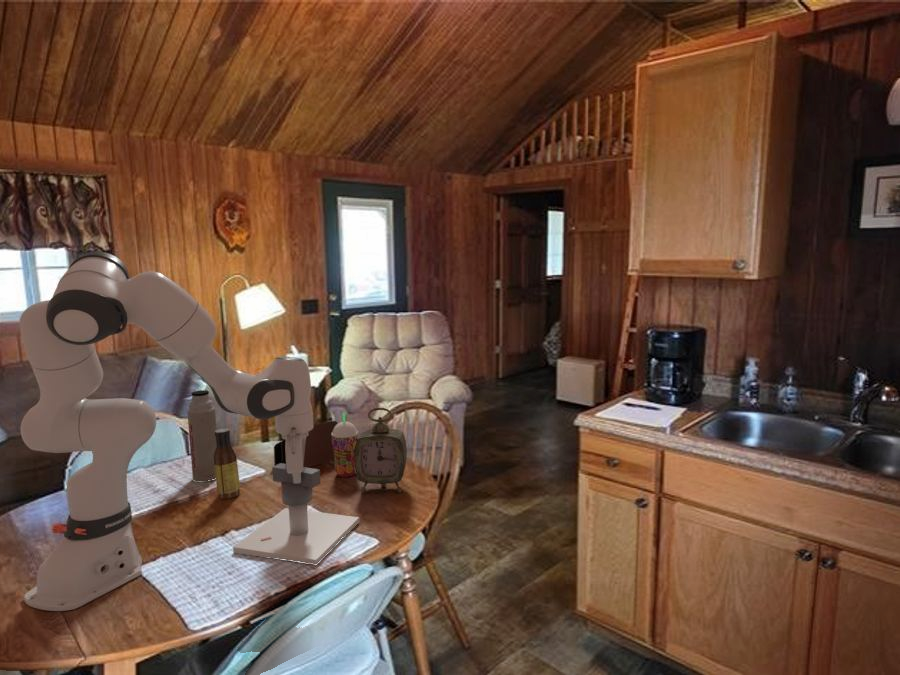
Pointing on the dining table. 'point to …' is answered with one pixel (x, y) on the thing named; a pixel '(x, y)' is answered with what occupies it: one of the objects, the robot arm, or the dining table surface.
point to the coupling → (299, 491)
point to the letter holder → (312, 446)
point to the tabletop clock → (380, 454)
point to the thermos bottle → (202, 436)
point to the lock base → (297, 535)
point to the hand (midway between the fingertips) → (297, 477)
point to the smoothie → (344, 447)
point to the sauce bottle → (226, 466)
